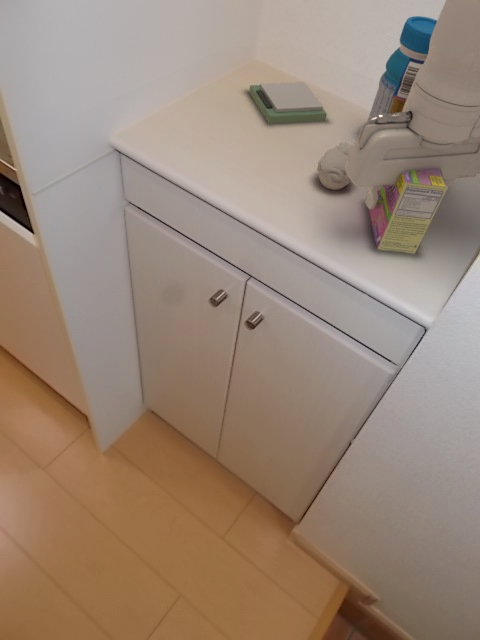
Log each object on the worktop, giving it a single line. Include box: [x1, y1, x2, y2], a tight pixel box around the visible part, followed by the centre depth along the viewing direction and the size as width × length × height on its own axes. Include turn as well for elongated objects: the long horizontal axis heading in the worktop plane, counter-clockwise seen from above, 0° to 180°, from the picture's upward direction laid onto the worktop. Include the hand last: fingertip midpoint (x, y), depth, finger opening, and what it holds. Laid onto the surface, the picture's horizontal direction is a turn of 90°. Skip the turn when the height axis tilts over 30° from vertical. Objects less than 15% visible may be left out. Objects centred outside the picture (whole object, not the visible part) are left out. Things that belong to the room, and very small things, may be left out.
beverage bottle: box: [367, 15, 438, 122], centre depth 86 cm, size 8×8×20 cm
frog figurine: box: [316, 141, 353, 191], centre depth 81 cm, size 6×7×7 cm
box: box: [368, 169, 449, 255], centre depth 73 cm, size 10×6×12 cm, turn 178°
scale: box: [248, 81, 327, 125], centre depth 96 cm, size 11×11×3 cm
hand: (400, 203), depth 74 cm, fingers open, 8 cm apart
